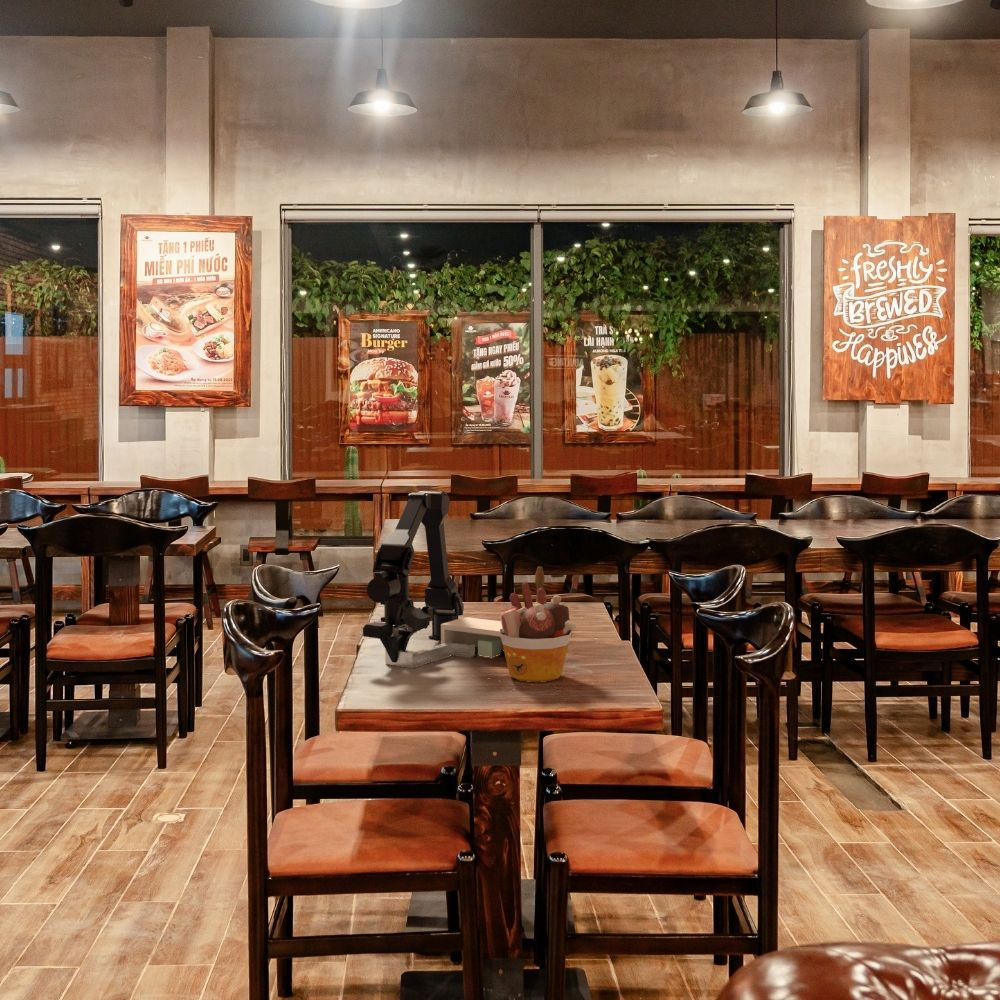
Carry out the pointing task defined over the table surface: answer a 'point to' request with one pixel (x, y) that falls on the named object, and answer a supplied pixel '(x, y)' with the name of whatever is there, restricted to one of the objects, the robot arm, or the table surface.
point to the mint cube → (489, 647)
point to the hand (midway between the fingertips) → (397, 661)
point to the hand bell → (539, 580)
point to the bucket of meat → (535, 636)
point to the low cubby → (470, 630)
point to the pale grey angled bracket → (431, 654)
